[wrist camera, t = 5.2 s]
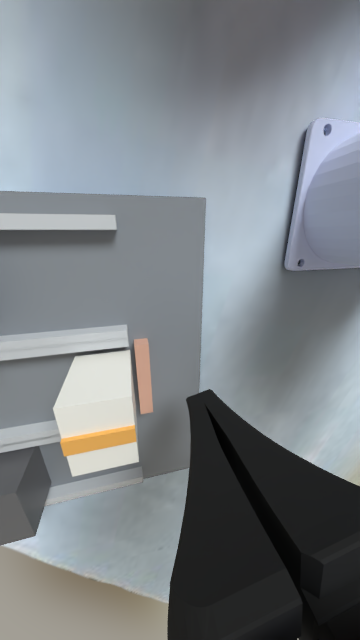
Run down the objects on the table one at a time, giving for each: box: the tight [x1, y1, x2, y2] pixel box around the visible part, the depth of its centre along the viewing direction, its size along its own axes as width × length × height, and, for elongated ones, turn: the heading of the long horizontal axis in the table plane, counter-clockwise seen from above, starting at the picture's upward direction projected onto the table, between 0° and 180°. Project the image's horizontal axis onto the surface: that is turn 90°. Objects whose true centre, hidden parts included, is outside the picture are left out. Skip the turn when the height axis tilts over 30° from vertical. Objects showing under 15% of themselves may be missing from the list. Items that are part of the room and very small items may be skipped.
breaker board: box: [0, 191, 206, 545], centre depth 12 cm, size 15×20×4 cm
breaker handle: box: [53, 350, 139, 477], centre depth 11 cm, size 3×4×4 cm
